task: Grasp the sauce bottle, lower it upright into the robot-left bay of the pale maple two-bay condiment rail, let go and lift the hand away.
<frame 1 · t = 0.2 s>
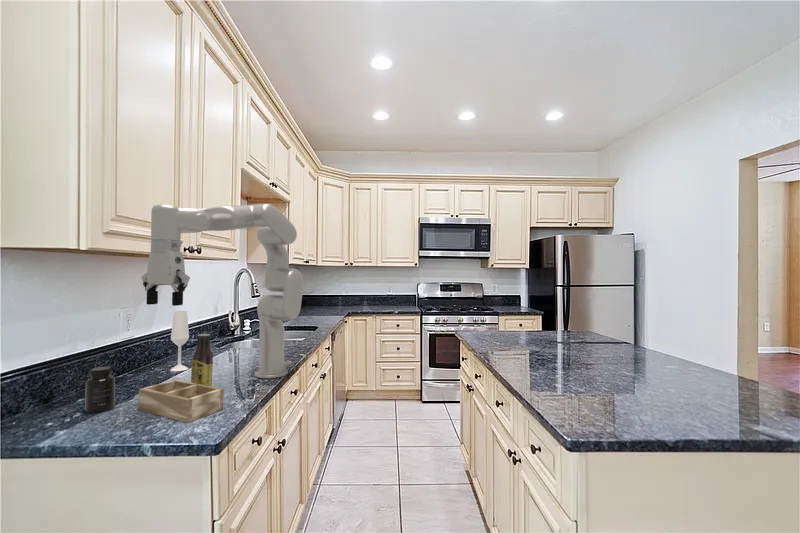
hand: (164, 304, 113), 31 cm above the counter, tool pointing down, fingers open, 9 cm apart
sauce bottle: (201, 395, 126), on the counter
condiment rail: (181, 409, 112), on the counter
supplement bottle: (99, 410, 111), on the counter
champagne flute: (179, 369, 159), on the counter
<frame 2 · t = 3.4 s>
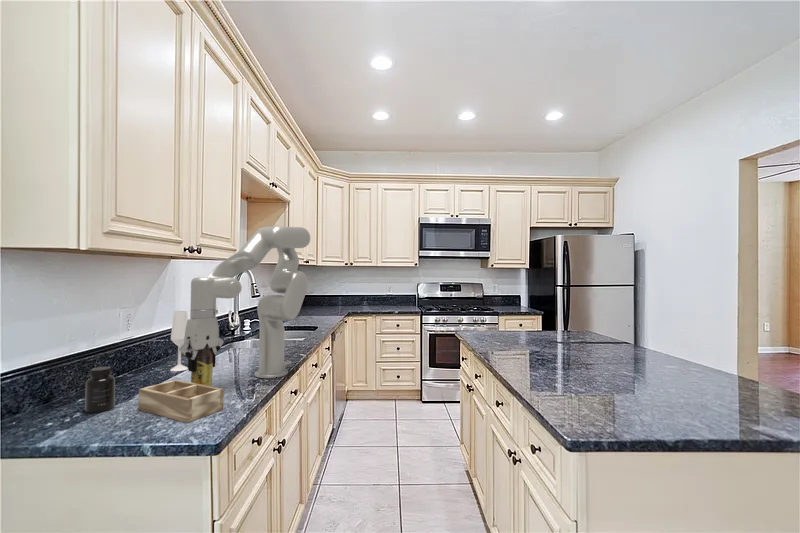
hand: (202, 368, 126), 9 cm above the counter, tool pointing down, fingers closed on sauce bottle, 6 cm apart
sauce bottle: (201, 395, 126), on the counter, touching gripper
everything else where it was.
when the fingers open (11 cm above the counter, at t = 9.1 s): sauce bottle drops 1 cm, resting on condiment rail.
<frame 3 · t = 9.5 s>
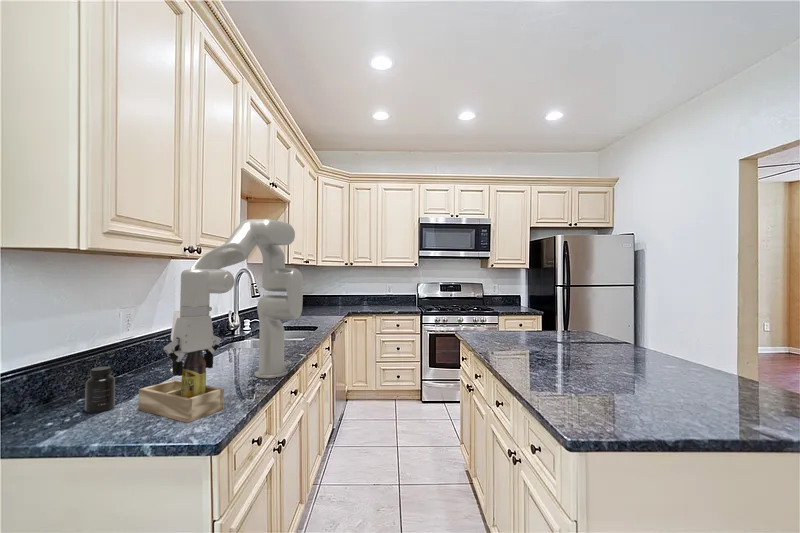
hand: (193, 371, 110), 12 cm above the counter, tool pointing down, fingers open, 9 cm apart
sauce bottle: (193, 409, 110), point 1 cm above the counter, touching condiment rail
everything else where it was.
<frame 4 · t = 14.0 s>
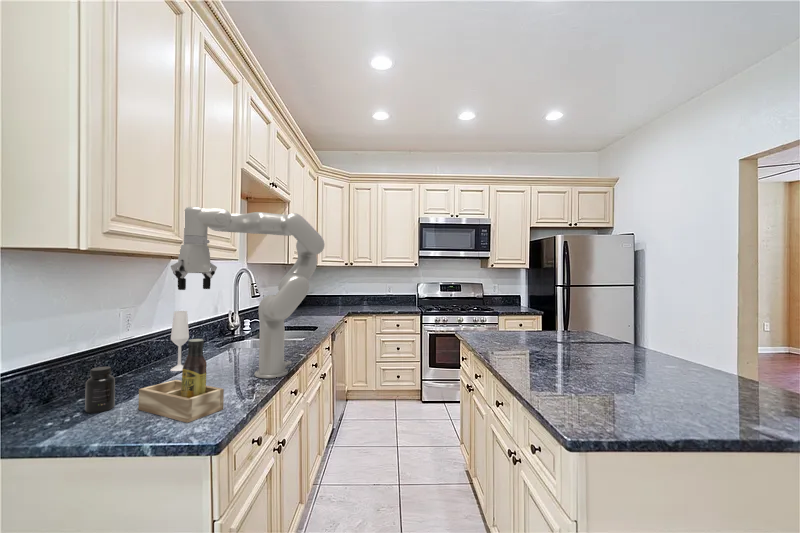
hand: (194, 289, 137), 34 cm above the counter, tool pointing down, fingers open, 9 cm apart
nothing on the counter moved.
at the end: sauce bottle 0.2 cm from the target spot on the condiment rail, point 0.8 cm above the condiment rail's base; sauce bottle tilted 0°; the gripper is holding nothing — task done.
